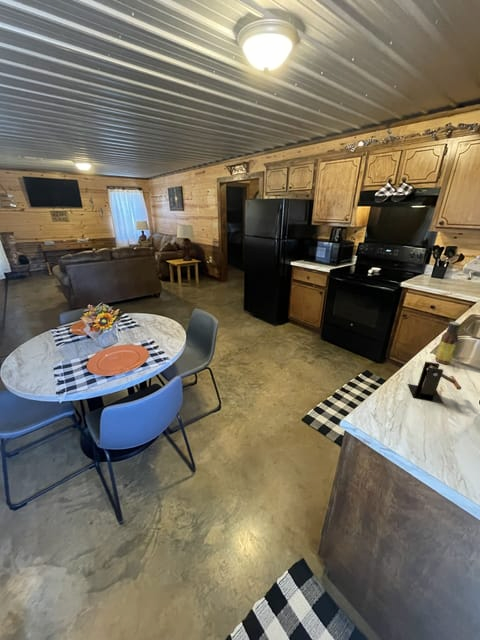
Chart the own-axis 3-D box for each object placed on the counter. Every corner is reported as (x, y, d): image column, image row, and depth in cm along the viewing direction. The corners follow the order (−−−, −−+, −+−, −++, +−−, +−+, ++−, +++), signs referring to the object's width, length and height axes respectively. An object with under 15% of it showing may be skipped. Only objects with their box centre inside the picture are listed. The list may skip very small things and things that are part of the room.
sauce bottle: (452, 365, 123) (466, 327, 115) (436, 363, 125) (450, 325, 117) (447, 358, 128) (460, 321, 121) (432, 356, 130) (444, 319, 122)
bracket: (434, 391, 106) (445, 362, 100) (442, 406, 98) (454, 375, 92) (406, 386, 109) (415, 357, 103) (412, 400, 101) (422, 370, 95)
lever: (450, 380, 101) (455, 376, 100) (458, 391, 95) (463, 387, 94) (424, 365, 102) (428, 361, 101) (429, 375, 96) (434, 371, 95)
